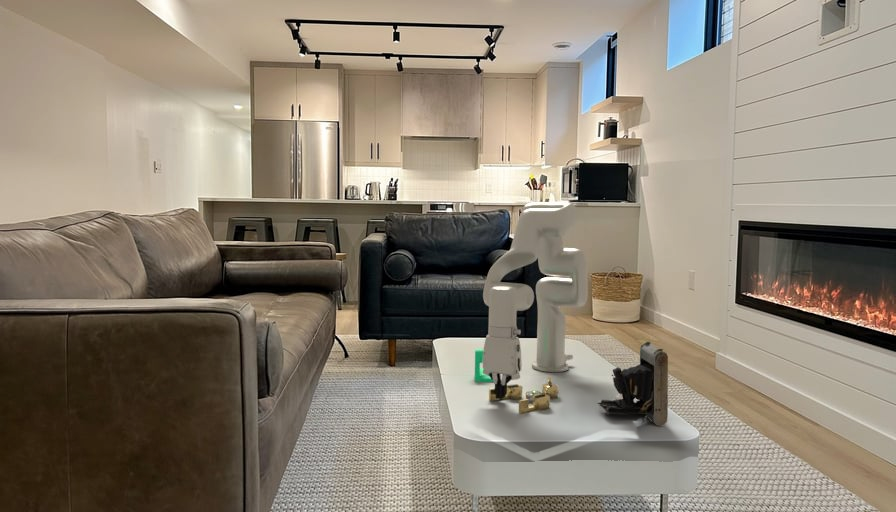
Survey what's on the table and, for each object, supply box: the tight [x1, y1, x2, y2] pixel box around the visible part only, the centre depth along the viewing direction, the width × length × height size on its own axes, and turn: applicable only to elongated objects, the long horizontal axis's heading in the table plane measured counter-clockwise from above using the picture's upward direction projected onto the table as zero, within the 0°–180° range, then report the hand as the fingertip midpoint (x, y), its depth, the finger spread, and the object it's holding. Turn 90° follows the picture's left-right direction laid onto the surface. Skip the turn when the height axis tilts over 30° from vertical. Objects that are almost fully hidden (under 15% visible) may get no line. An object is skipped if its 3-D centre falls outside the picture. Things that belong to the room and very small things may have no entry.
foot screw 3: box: [541, 377, 559, 400], centre depth 168 cm, size 10×4×4 cm, turn 172°
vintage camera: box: [597, 341, 669, 427], centre depth 150 cm, size 10×15×20 cm, turn 95°
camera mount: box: [474, 348, 493, 383], centre depth 184 cm, size 12×8×10 cm, turn 177°
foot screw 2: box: [518, 394, 551, 414], centre depth 154 cm, size 10×4×4 cm, turn 127°
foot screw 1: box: [488, 383, 523, 402], centre depth 163 cm, size 10×4×4 cm, turn 115°
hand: (500, 397), depth 159 cm, fingers closed
